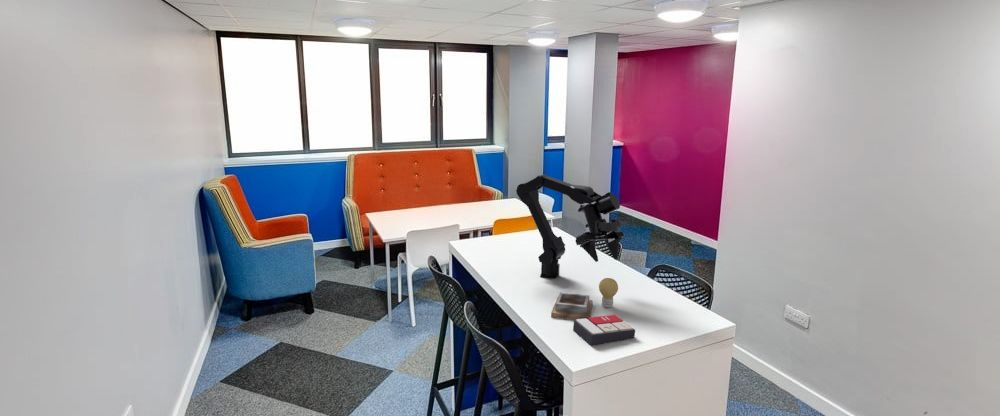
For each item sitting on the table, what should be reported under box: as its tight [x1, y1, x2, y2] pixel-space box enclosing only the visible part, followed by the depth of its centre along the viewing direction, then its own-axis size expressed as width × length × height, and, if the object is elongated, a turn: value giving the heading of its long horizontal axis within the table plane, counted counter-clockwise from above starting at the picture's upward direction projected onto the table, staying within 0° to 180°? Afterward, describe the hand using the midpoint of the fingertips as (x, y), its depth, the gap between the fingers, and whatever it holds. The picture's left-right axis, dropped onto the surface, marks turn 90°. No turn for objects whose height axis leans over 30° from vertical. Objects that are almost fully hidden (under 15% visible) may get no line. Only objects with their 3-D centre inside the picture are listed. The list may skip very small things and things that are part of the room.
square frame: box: [550, 291, 594, 321], centre depth 172 cm, size 12×14×4 cm
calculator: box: [572, 314, 636, 347], centre depth 156 cm, size 11×4×15 cm
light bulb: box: [598, 277, 619, 309], centre depth 175 cm, size 6×6×10 cm
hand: (606, 260), depth 183 cm, fingers open, 9 cm apart
